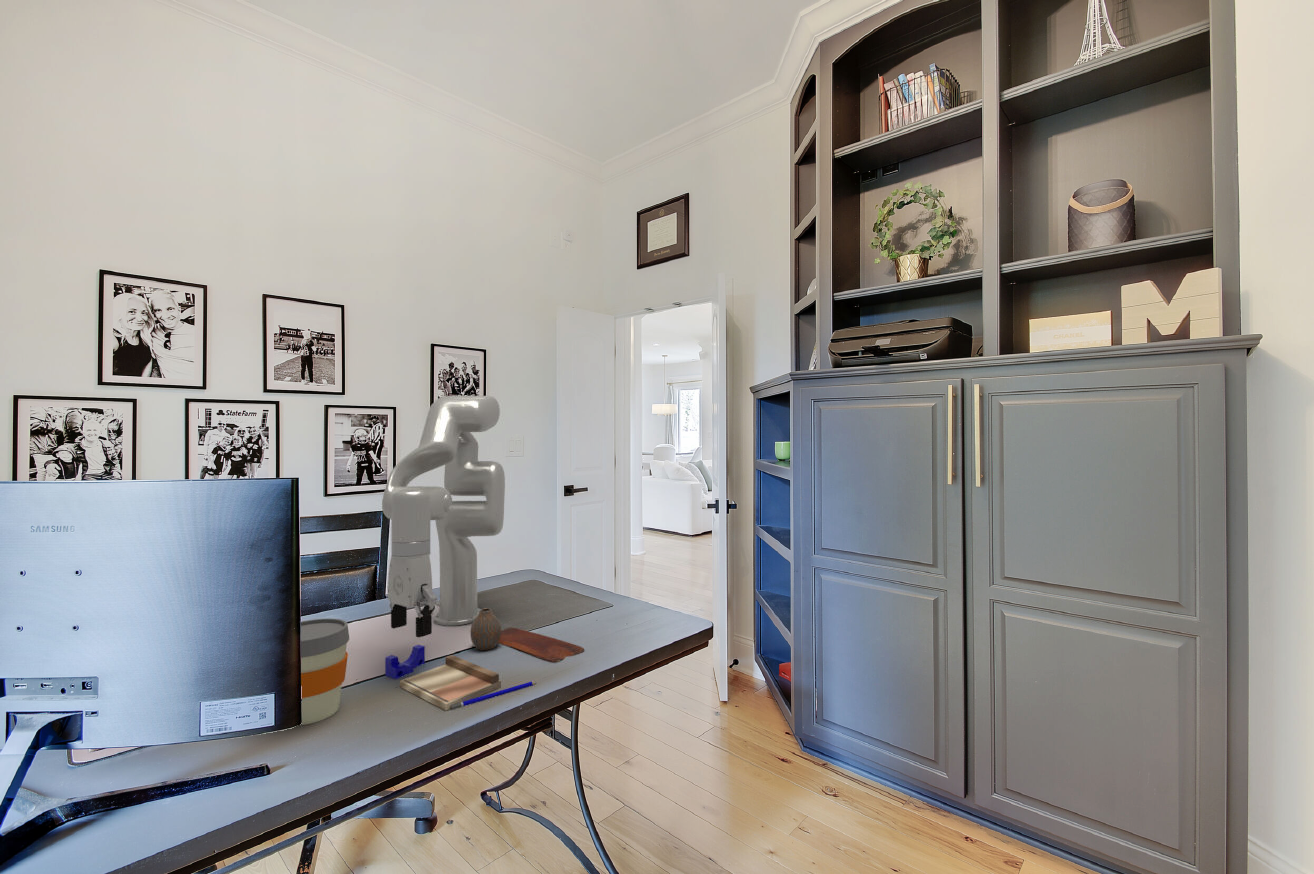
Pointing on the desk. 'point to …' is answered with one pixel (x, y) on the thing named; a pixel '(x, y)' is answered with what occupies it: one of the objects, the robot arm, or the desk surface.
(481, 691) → the maple board
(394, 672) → the cable holder
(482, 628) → the vase
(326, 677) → the reusable coffee cup
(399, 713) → the desk surface
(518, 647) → the wooden tablet
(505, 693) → the pencil
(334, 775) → the desk surface
